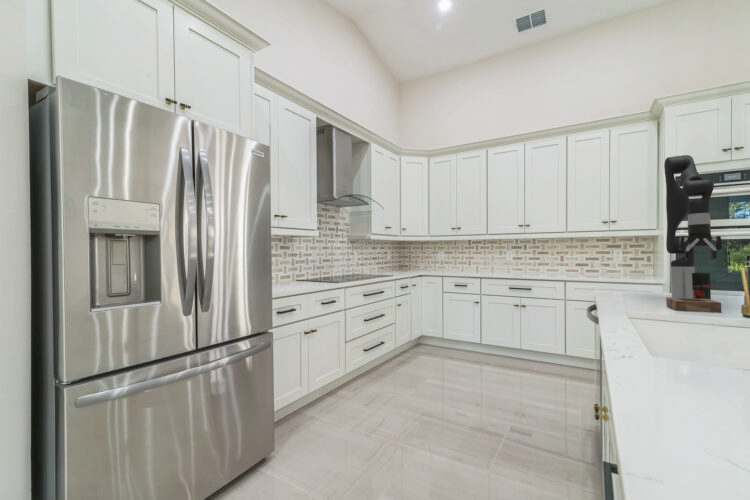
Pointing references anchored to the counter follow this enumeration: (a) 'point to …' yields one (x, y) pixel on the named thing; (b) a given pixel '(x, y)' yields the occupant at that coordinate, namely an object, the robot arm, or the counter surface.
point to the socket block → (693, 305)
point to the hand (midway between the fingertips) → (700, 259)
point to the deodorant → (701, 285)
